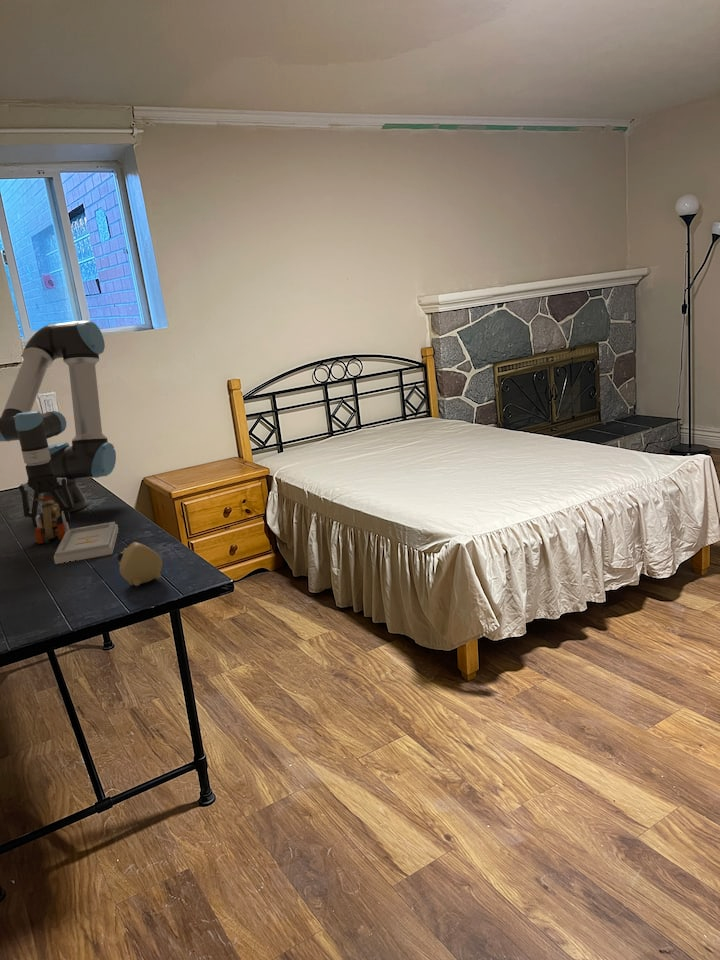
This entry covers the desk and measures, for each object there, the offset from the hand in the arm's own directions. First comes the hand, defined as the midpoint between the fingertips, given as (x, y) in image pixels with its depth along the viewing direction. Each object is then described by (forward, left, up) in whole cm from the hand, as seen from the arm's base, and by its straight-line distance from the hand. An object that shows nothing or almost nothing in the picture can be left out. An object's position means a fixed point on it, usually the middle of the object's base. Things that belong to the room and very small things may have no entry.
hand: (54, 534), depth 218 cm
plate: (+18, +12, -1) cm, 22 cm away
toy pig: (+57, +29, -1) cm, 64 cm away
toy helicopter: (0, 0, -1) cm, 1 cm away
